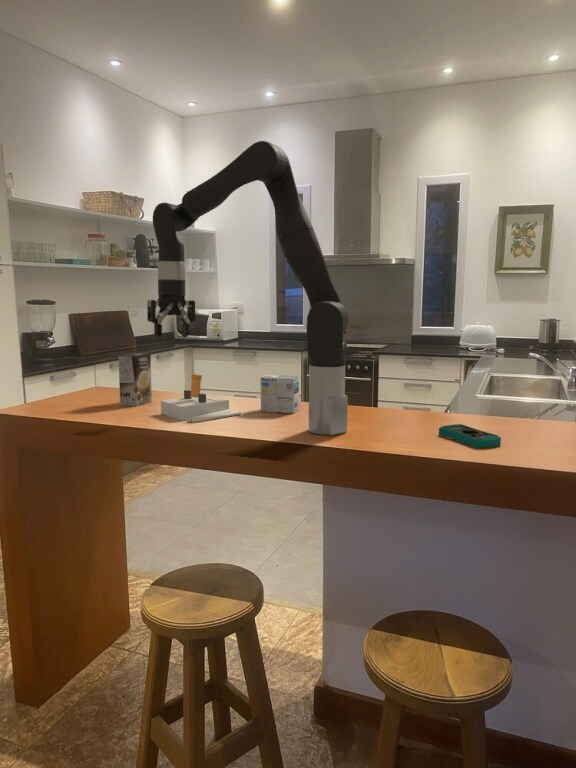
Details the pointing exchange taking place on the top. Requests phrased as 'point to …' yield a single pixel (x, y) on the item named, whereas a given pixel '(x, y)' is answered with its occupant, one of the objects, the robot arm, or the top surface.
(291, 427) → the top surface
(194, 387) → the lever
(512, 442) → the top surface
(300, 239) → the robot arm
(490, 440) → the digital multimeter
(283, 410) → the light bulb box
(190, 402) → the box
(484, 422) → the top surface
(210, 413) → the pale grey thin bar
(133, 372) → the coffee box
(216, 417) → the light grey rod
